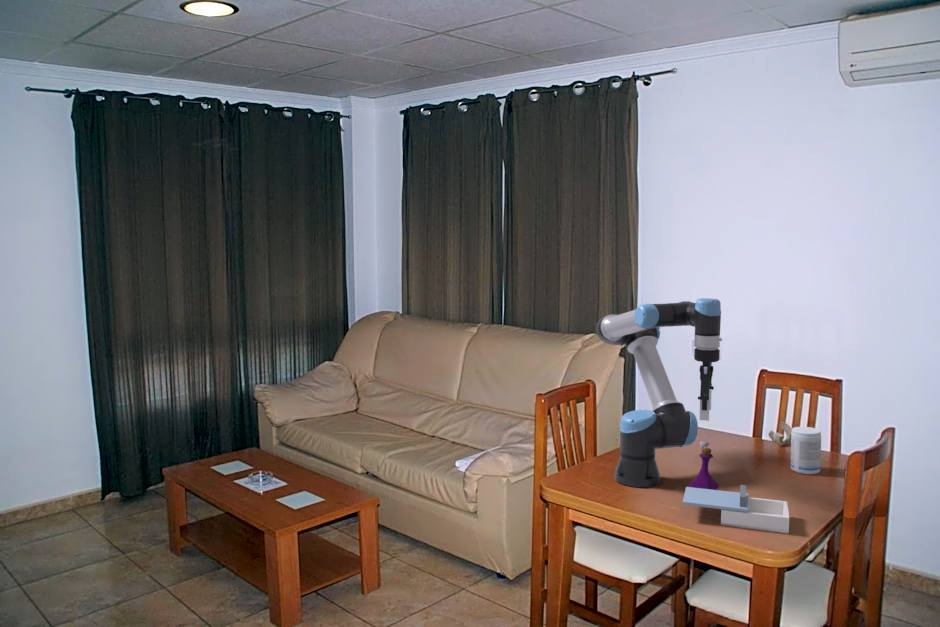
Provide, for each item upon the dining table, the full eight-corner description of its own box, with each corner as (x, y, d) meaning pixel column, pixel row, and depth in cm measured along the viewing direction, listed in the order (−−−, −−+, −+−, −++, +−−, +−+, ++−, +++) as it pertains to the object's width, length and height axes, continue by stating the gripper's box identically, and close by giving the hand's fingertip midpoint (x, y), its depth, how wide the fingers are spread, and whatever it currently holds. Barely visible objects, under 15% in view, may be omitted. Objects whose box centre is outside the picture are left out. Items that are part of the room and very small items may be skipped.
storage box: (720, 524, 208) (721, 509, 208) (722, 508, 220) (722, 494, 220) (788, 533, 202) (789, 518, 201) (786, 516, 214) (786, 501, 213)
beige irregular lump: (766, 442, 281) (770, 418, 284) (766, 446, 286) (770, 422, 289) (790, 446, 277) (793, 421, 280) (790, 450, 282) (793, 426, 286)
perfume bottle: (696, 489, 236) (697, 436, 234) (719, 494, 231) (720, 440, 229) (687, 496, 230) (688, 442, 228) (710, 502, 225) (711, 446, 223)
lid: (682, 504, 211) (682, 491, 211) (686, 489, 223) (686, 477, 223) (748, 512, 205) (748, 499, 204) (748, 496, 217) (748, 484, 216)
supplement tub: (825, 471, 251) (827, 430, 249) (810, 477, 246) (811, 435, 244) (799, 464, 259) (801, 424, 257) (784, 469, 254) (785, 429, 252)
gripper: (718, 355, 212) (716, 425, 215) (721, 342, 235) (719, 406, 238) (691, 354, 215) (690, 423, 217) (697, 341, 238) (695, 404, 240)
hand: (705, 414), depth 227 cm, fingers open, 13 cm apart
